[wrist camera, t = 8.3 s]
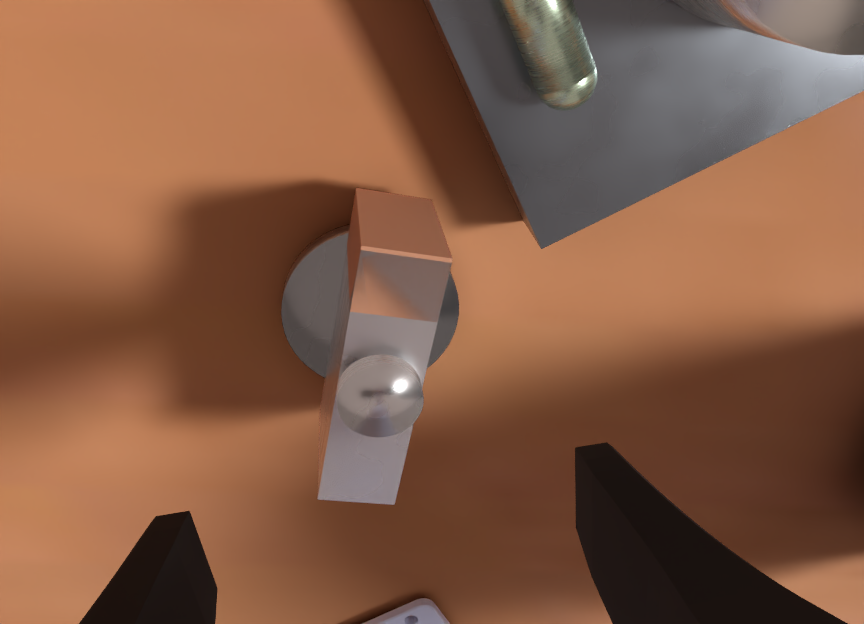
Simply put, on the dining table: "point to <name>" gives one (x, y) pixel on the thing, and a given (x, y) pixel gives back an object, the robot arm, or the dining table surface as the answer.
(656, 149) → the levelling base
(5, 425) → the dining table surface
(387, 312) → the wing knob
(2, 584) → the dining table surface
